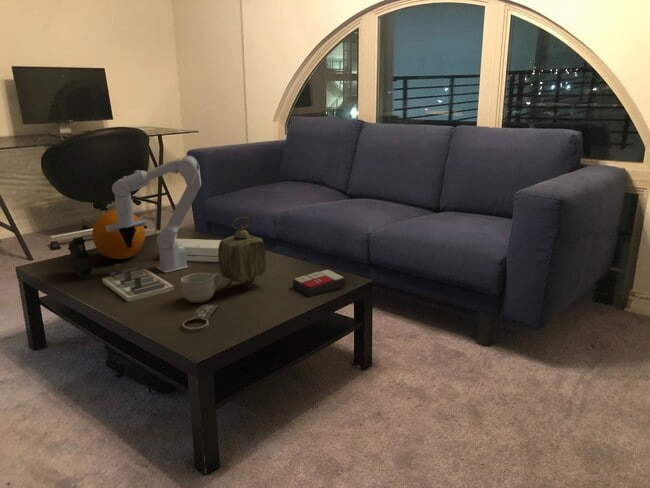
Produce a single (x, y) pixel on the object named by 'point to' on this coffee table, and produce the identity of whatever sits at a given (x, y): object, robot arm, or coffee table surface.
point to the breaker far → (118, 269)
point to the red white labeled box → (319, 282)
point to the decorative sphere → (115, 237)
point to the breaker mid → (127, 275)
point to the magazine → (80, 258)
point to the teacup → (199, 286)
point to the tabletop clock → (241, 256)
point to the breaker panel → (127, 289)
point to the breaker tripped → (137, 282)
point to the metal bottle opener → (200, 317)
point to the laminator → (200, 249)
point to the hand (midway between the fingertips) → (129, 246)
